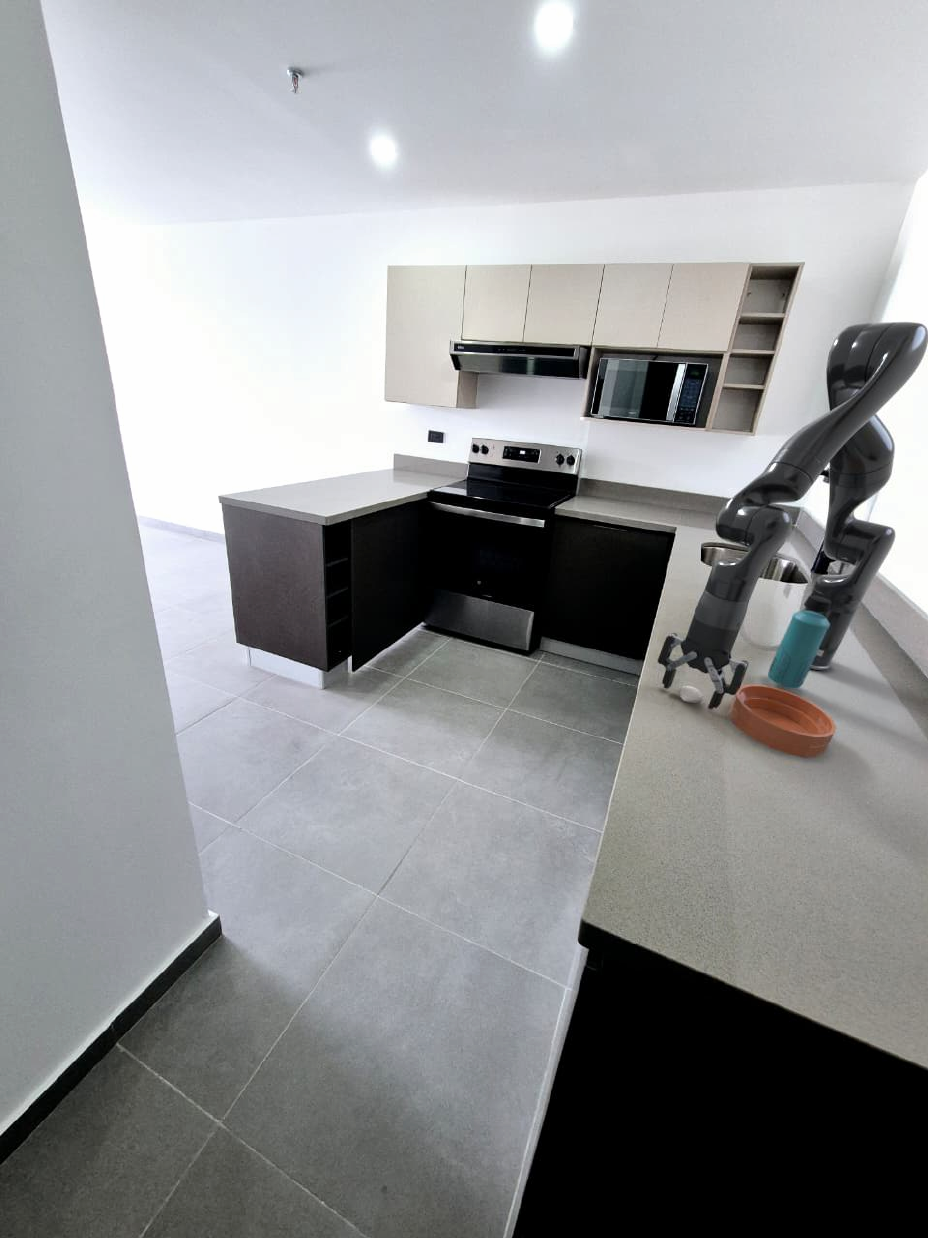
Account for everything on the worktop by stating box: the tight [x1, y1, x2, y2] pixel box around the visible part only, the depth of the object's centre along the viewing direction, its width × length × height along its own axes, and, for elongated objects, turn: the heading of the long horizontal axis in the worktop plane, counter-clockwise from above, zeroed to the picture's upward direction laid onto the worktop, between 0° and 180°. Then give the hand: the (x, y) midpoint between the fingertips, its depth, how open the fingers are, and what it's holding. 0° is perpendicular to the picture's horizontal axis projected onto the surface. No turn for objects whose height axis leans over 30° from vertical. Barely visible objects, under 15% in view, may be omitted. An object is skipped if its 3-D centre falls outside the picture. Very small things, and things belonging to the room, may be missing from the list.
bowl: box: [728, 684, 837, 758], centre depth 85 cm, size 15×15×4 cm
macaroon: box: [677, 685, 704, 704], centre depth 90 cm, size 4×5×2 cm
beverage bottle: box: [767, 595, 832, 689], centre depth 97 cm, size 6×7×20 cm
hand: (688, 696), depth 91 cm, fingers open, 8 cm apart
